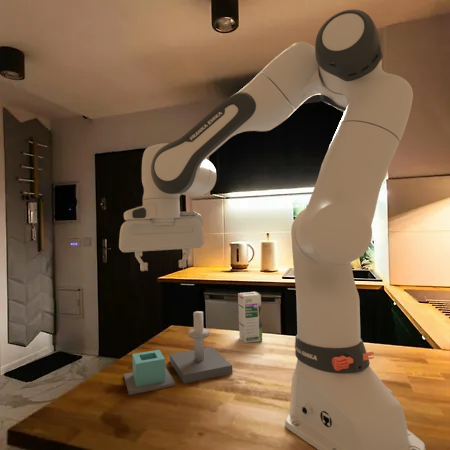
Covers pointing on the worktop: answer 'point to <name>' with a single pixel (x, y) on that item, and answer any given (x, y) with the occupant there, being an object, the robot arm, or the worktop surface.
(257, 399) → the worktop surface
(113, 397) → the worktop surface
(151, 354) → the collar
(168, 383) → the mat
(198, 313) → the stand
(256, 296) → the syrup box
